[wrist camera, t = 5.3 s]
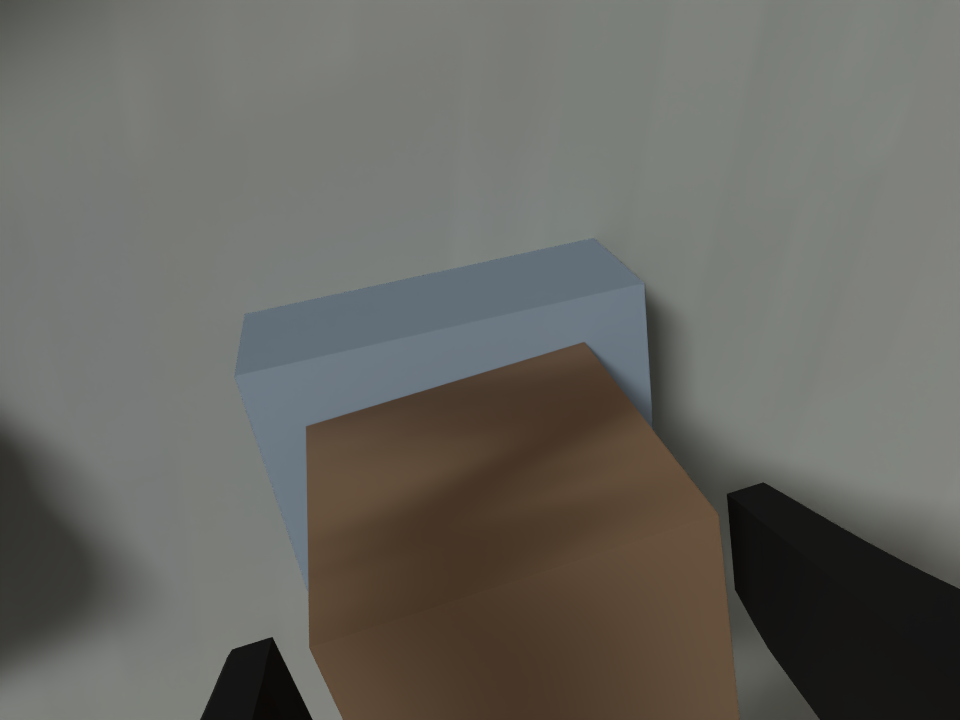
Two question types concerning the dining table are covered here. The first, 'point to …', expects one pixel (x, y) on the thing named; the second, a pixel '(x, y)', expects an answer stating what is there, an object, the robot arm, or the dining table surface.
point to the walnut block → (514, 556)
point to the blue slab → (429, 346)
